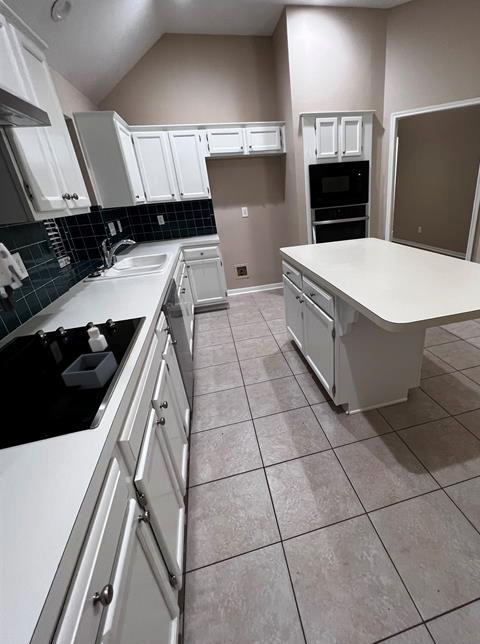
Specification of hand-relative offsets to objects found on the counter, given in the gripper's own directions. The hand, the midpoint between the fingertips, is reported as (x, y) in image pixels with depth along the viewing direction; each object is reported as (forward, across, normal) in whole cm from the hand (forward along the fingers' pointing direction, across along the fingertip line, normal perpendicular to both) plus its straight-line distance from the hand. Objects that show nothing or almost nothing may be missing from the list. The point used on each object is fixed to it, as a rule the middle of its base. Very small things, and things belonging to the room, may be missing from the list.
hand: (11, 310), depth 84 cm
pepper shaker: (+27, -4, -22) cm, 35 cm away
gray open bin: (+24, -5, -5) cm, 25 cm away
